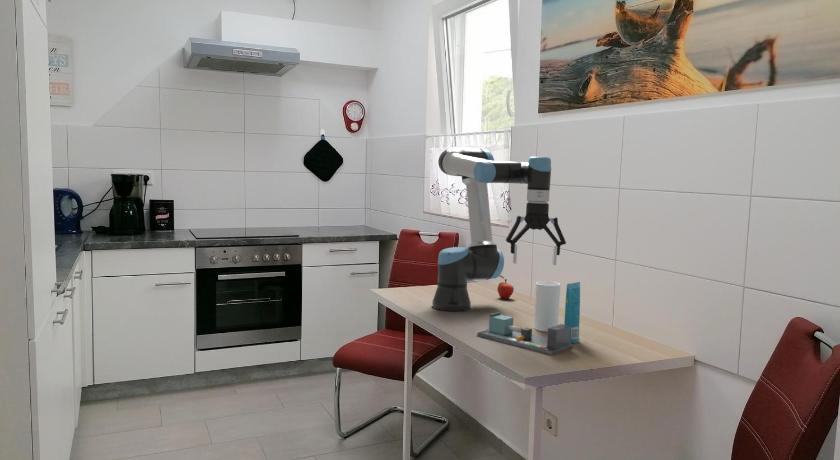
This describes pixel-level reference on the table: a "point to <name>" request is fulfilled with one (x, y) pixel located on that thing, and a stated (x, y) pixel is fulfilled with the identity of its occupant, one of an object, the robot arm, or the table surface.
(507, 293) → the apple
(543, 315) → the cup
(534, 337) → the rail base
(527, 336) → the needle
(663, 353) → the table surface
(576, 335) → the tube
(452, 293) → the robot arm
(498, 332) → the block
